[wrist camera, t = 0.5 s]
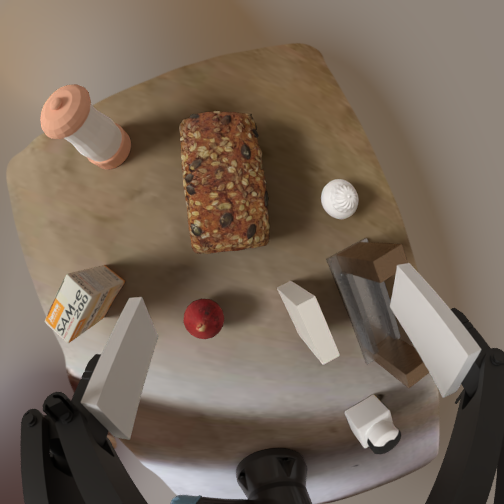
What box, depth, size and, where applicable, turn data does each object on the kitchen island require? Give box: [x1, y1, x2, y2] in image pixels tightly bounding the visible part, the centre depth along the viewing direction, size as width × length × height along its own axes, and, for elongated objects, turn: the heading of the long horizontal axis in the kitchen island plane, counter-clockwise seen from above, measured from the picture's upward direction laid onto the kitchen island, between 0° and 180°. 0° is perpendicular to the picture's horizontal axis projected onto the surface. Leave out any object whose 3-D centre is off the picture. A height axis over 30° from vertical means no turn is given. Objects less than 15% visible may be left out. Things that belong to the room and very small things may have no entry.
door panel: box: [277, 281, 340, 365], centre depth 38 cm, size 9×2×12 cm, turn 26°
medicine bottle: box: [345, 394, 401, 454], centre depth 41 cm, size 7×7×12 cm
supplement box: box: [45, 265, 125, 343], centre depth 34 cm, size 8×5×13 cm, turn 144°
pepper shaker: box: [41, 85, 131, 169], centre depth 30 cm, size 7×7×19 cm
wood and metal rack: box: [326, 238, 429, 388], centre depth 39 cm, size 22×8×13 cm, turn 26°
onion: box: [184, 299, 224, 339], centre depth 39 cm, size 6×6×8 cm
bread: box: [179, 111, 270, 254], centre depth 37 cm, size 19×11×10 cm, turn 7°
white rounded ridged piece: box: [321, 179, 358, 219], centre depth 40 cm, size 6×6×7 cm
